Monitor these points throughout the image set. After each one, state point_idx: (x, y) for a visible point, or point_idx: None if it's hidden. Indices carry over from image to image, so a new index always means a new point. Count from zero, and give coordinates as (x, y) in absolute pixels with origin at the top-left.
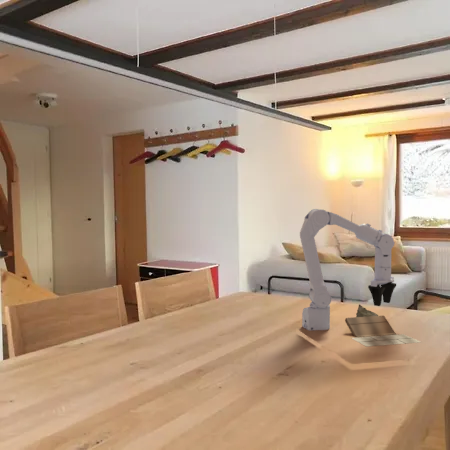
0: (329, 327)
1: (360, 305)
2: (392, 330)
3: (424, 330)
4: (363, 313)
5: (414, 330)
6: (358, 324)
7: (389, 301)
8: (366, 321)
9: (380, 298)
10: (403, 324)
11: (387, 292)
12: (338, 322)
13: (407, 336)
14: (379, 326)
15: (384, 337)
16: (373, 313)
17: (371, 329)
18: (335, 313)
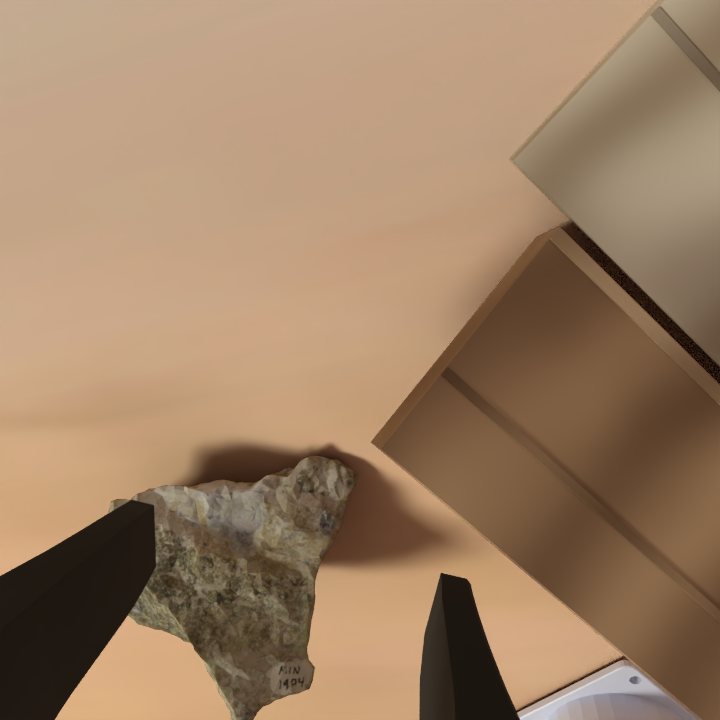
0: (621, 717)
1: (242, 706)
2: (535, 278)
3: (77, 49)
4: (278, 616)
5: (146, 142)
6: (706, 588)
7: (137, 514)
8: (613, 550)
9: (504, 692)
10: (22, 285)
11: (33, 664)
12: None
13: (603, 87)
14: (580, 412)
15: None
16: None
17: (676, 456)
18: (97, 710)
